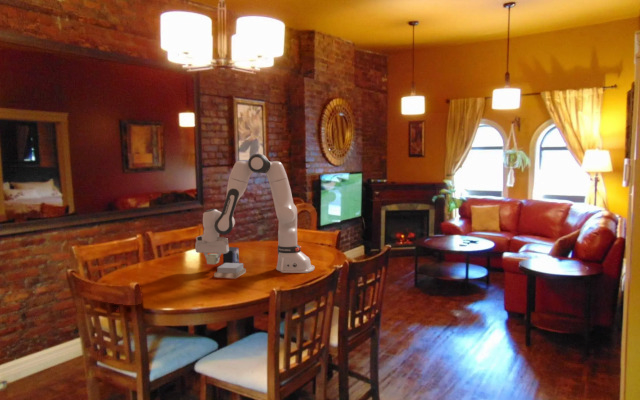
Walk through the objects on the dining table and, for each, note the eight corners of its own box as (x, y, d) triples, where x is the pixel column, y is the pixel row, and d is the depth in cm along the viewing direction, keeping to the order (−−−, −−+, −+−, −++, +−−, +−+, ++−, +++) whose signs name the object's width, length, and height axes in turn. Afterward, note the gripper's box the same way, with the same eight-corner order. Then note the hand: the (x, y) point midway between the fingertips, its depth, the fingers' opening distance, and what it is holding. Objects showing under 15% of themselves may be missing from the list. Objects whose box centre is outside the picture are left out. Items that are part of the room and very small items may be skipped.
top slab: (243, 268, 263) (243, 263, 262) (236, 273, 252) (236, 268, 252) (225, 267, 265) (225, 262, 265) (217, 272, 254) (217, 267, 254)
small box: (233, 267, 274) (232, 250, 273) (222, 267, 275) (222, 250, 274) (239, 263, 284) (239, 247, 283) (229, 263, 285) (229, 246, 284)
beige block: (218, 262, 269) (218, 253, 268) (214, 264, 264) (214, 255, 263) (211, 261, 270) (210, 253, 269) (207, 264, 265) (206, 255, 265)
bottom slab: (245, 273, 263) (245, 268, 263) (235, 279, 251) (235, 274, 251) (225, 272, 267) (225, 267, 267) (214, 278, 254) (214, 272, 254)
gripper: (230, 236, 265) (231, 259, 267) (199, 235, 271) (200, 258, 273) (225, 238, 259) (226, 262, 261) (193, 237, 265) (194, 261, 267)
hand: (212, 260), depth 267 cm, fingers closed on beige block, 5 cm apart
